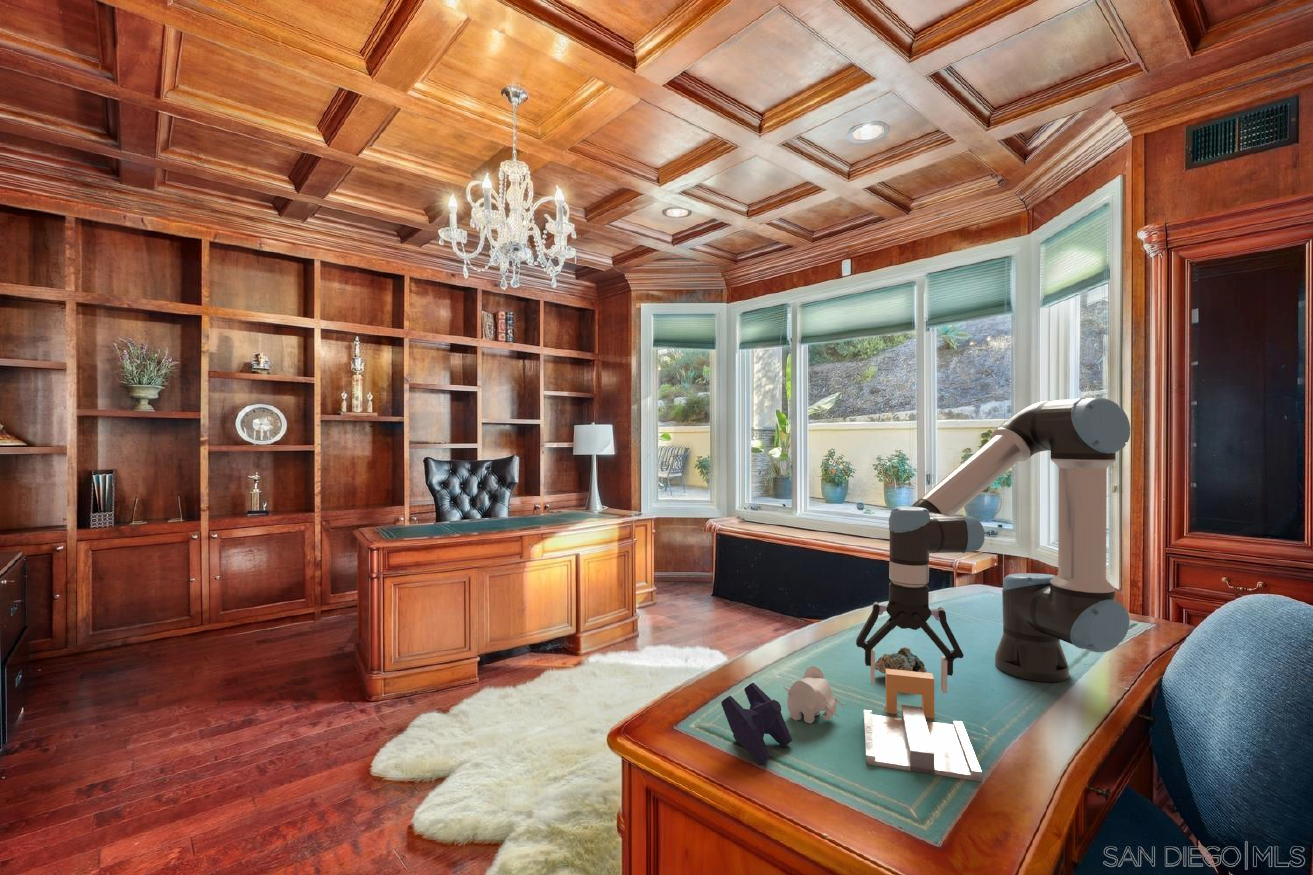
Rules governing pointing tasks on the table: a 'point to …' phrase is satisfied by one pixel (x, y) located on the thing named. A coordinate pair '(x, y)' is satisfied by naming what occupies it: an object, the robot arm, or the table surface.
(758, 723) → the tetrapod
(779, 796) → the table surface
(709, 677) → the table surface
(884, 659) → the mineral specimen
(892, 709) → the clip
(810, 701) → the elephant figurine
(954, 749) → the rail
